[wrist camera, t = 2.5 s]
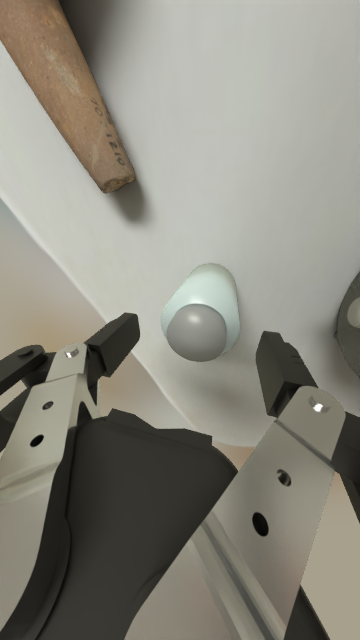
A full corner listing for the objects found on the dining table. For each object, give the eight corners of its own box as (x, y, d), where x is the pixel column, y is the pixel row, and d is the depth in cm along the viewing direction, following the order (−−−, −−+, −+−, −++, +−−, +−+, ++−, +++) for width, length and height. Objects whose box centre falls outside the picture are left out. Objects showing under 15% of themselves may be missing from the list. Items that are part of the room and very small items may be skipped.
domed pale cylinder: (186, 262, 16) (150, 294, 9) (239, 264, 15) (251, 304, 8) (185, 307, 19) (157, 362, 11) (230, 312, 18) (232, 377, 10)
